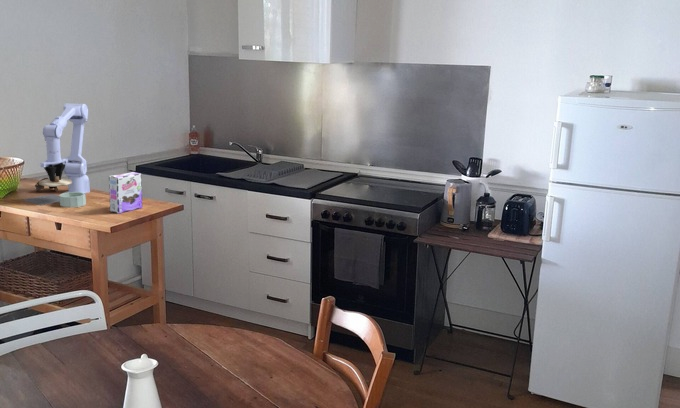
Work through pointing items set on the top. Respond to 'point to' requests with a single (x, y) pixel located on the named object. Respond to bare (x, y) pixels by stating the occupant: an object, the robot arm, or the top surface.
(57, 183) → the lid
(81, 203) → the bowl
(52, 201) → the mat
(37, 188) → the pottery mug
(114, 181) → the candy box
